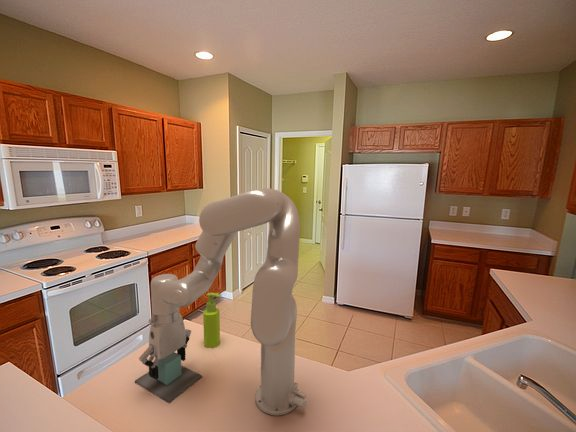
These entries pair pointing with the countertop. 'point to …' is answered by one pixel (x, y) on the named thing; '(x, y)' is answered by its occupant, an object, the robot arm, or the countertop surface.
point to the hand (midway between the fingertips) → (168, 367)
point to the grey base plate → (171, 389)
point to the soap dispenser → (211, 322)
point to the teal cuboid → (169, 368)
